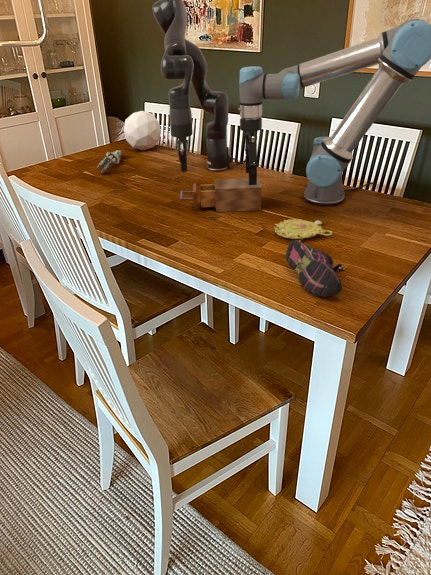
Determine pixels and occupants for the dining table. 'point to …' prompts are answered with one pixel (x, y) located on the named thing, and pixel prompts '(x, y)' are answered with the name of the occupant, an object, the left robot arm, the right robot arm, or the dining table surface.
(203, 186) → the drawer
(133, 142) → the sphere
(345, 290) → the dining table surface
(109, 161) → the figurine
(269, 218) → the dining table surface
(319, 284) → the athletic shoe
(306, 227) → the decorative object
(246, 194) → the wooden drawer box
